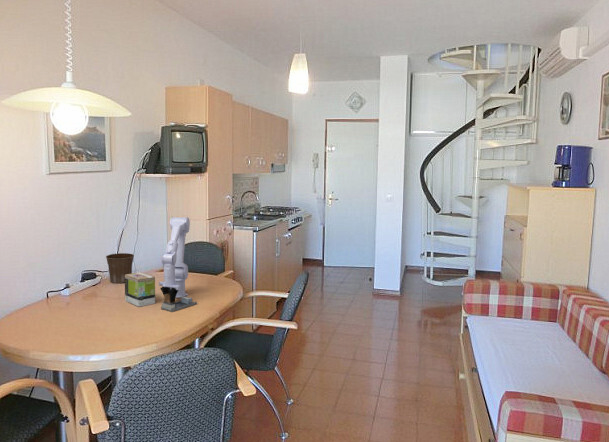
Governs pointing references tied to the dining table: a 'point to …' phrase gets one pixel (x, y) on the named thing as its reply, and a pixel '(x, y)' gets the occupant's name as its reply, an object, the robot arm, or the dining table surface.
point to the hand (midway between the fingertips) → (169, 300)
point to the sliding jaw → (186, 300)
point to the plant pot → (119, 266)
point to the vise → (176, 306)
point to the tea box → (140, 289)
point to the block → (167, 298)
